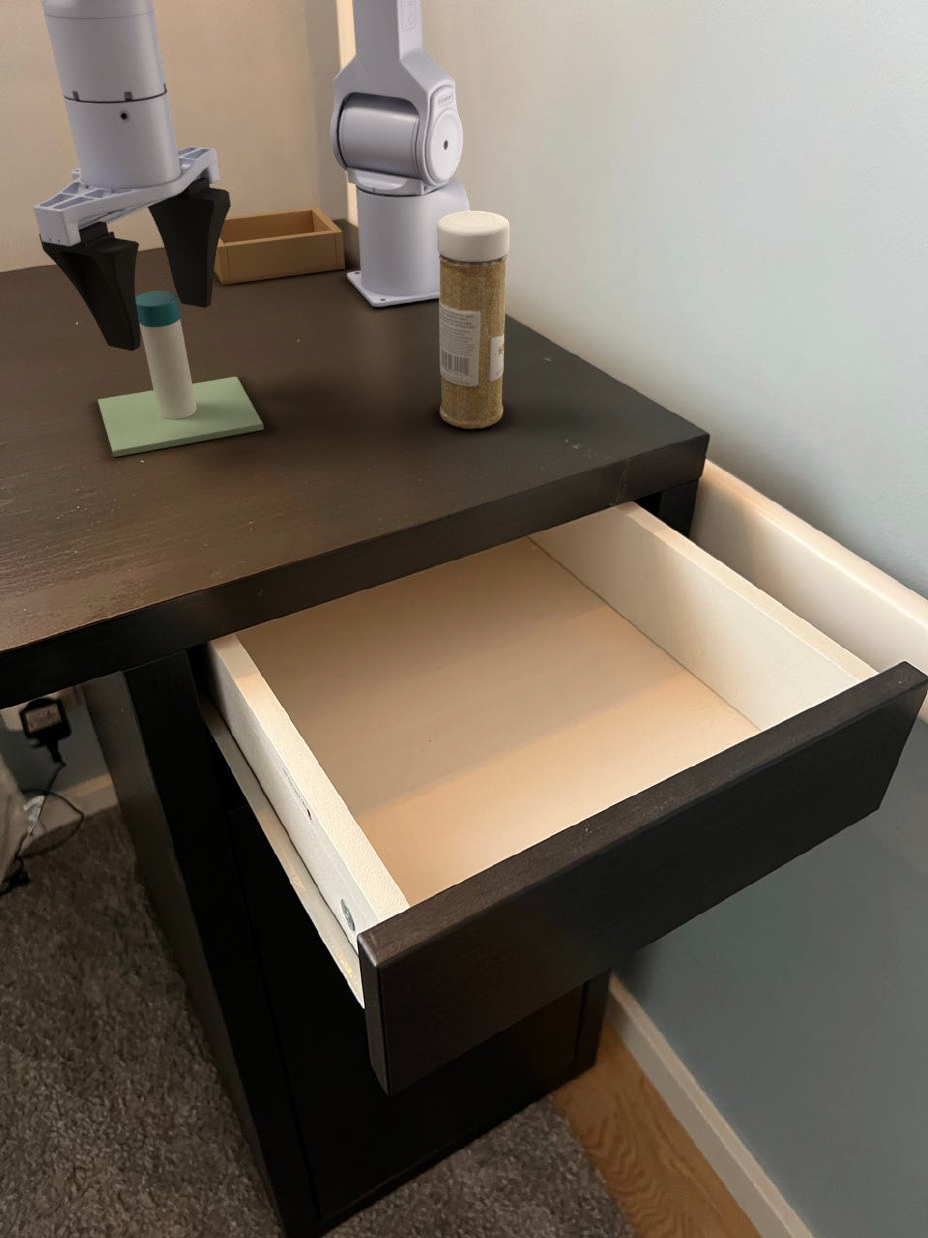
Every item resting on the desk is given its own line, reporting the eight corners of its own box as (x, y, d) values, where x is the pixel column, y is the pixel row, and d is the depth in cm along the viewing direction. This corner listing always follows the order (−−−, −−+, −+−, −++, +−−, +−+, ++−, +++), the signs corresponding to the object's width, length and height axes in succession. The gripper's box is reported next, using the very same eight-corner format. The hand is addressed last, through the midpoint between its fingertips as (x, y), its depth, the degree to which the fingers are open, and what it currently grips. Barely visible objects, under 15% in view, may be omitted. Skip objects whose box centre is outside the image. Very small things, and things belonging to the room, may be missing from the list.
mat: (237, 382, 72) (236, 375, 71) (263, 429, 66) (262, 423, 66) (99, 405, 69) (97, 398, 68) (113, 457, 63) (112, 450, 63)
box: (320, 241, 96) (317, 206, 94) (345, 268, 91) (342, 231, 88) (204, 256, 93) (198, 219, 91) (222, 284, 87) (216, 246, 85)
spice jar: (515, 420, 67) (525, 222, 59) (461, 437, 65) (463, 235, 57) (479, 395, 70) (483, 203, 62) (426, 411, 68) (422, 215, 60)
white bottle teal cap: (190, 398, 69) (169, 287, 63) (202, 414, 67) (182, 300, 62) (153, 407, 67) (128, 294, 62) (164, 423, 66) (140, 308, 61)
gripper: (139, 64, 61) (178, 278, 69) (-36, 111, 51) (35, 355, 59) (233, 74, 59) (261, 293, 67) (70, 125, 48) (128, 376, 57)
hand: (161, 324), depth 63 cm, fingers open, 7 cm apart
